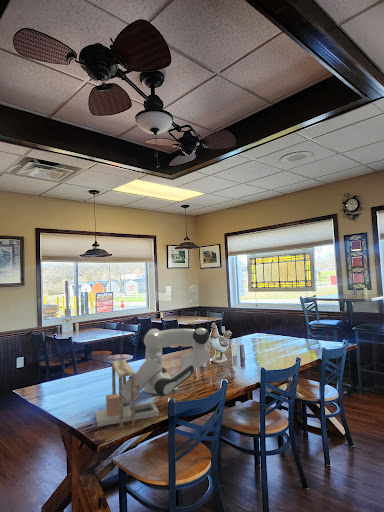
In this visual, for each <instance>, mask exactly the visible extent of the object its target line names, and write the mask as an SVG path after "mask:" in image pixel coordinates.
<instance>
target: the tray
mask: <svg viewBox="0 0 384 512" xmlns="http://www.w3.org/2000/svg"><path fill="white" fill-rule="evenodd" d="M94 412H95V413H94V418H95V420H96V426H97V427H104V426H109V425H115V424H120V423H119V415H114V416H109V417H108V416H107V413H106V409H101V410H96V411H94ZM159 416H160V411H159V409H158V407H157V406H156V404H155V403H154V402H153V401H151V402H144V403H138V404H135V421H136V420H142V419H149V418H154V417H159ZM148 417H149V418H148ZM124 422H131V405H127V406H125V407H123V423H124Z"/></svg>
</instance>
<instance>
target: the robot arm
mask: <svg viewBox="0 0 384 512" xmlns="http://www.w3.org/2000/svg"><path fill="white" fill-rule="evenodd" d="M143 344H144V346H145V354H144V355H145V356H144V357H145V358H144V359H145V360H144V362H143V363H142V364H141V365H140V366H139V369H138V370H137V371H136V372H134V388H135V401H136V400H137V399H138V397H139V396H140V393H141V392H142V391H143V392H144V393H146V394H154V395H158V396H160V397H167V396H168V395H170V394H171V393H172V392H174V391H177V390H178V389H179V386H180V385H181V384H182V383H184V382H185V381H186V380H188V379H189V378H190V377H192V375H193V374H194V372H195V370H196V369H197V368H199V367H201V366H203V365H204V364H206V363H207V362H208V361H209V360H210V357H211V339H210V333H209V330H208V329H207V328H204V327H197V328H195V329H194V328H169V329H165V330H160V329H158V328H150V329H149V330H148V331H147V333H145V336H144V337H143ZM182 346H183V347H185V346H190V347H192V349H190V350H188V351H186V352H184V353H182V355H181V356H180V361H179V363H180V368H181V370H180V371H178V372H177V373H175V374H174V375H172V376H171V375H169V374H168V373H167V372H168V369H167V368H166V367H163V348H168V347H169V348H170V347H182ZM122 387H123V404H124V403H125V402H126V403H128V404H129V405H131V376H128V378H127V379H126V383H125V384H124V385H123V384H122ZM173 390H174V391H173Z"/></svg>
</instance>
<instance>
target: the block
mask: <svg viewBox="0 0 384 512" xmlns="http://www.w3.org/2000/svg"><path fill="white" fill-rule="evenodd" d="M105 407H106V409H105V410H106V413H107V416H108V417H109V416H114V415H119V393H116V394H106V395H105Z"/></svg>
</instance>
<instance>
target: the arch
mask: <svg viewBox="0 0 384 512" xmlns="http://www.w3.org/2000/svg"><path fill="white" fill-rule="evenodd" d="M116 374H117V376H118V396H119V423H118V424H119V429H123V428H124V422H123V407H125V406H128V405H127V401H126V402H125V403H124V404H123V385H124V384H125V383H126V381H127V377H130V376H131V404H130V406H131V421H130V422H131V426H132V427H135V426H136V420H135V405H136V400H135V388H134V374H135V371H134V370H133V369H132V367H131V366H130V364H129V363H128V362H127V360H126V359H122V360H111V376H112V377H111V383H112V385H111V387H112V388H111V389H112V394H117V392H116V388H117V387H116V384H117V383H116ZM112 394H111V395H112Z"/></svg>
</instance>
